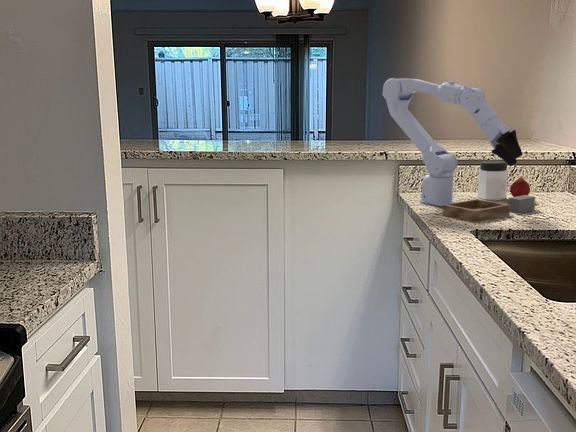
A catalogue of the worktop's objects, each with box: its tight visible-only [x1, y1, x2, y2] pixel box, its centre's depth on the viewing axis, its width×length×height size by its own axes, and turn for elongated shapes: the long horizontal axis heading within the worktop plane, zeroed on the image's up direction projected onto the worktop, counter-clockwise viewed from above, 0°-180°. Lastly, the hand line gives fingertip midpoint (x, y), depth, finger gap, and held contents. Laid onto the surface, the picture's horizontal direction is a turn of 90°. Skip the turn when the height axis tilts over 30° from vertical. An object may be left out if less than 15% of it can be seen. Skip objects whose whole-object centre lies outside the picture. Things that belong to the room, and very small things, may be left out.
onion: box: [509, 176, 531, 197], centre depth 185 cm, size 6×6×8 cm
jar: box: [477, 159, 509, 201], centre depth 191 cm, size 9×8×12 cm
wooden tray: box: [442, 198, 511, 223], centre depth 167 cm, size 12×14×3 cm
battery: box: [508, 195, 536, 214], centre depth 172 cm, size 4×8×4 cm, turn 123°
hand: (516, 160), depth 166 cm, fingers open, 7 cm apart
